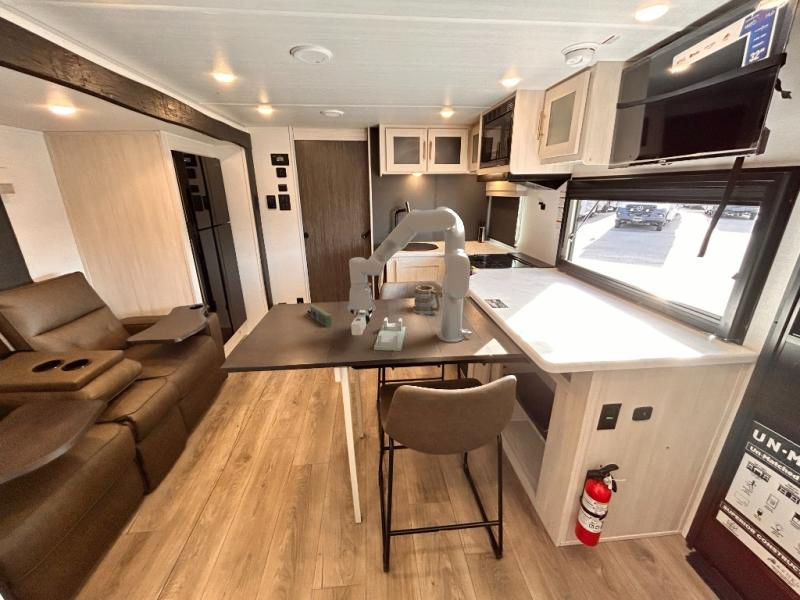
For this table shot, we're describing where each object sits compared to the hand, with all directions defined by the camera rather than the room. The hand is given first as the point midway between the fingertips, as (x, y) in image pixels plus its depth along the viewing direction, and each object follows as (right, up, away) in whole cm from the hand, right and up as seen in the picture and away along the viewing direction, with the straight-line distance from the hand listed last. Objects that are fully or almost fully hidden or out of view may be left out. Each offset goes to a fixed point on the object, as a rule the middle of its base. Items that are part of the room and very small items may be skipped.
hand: (362, 322), depth 145 cm
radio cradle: (+13, -8, +1) cm, 15 cm away
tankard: (+34, +3, +32) cm, 47 cm away
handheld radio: (-27, -1, +23) cm, 35 cm away
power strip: (0, -1, 0) cm, 1 cm away
